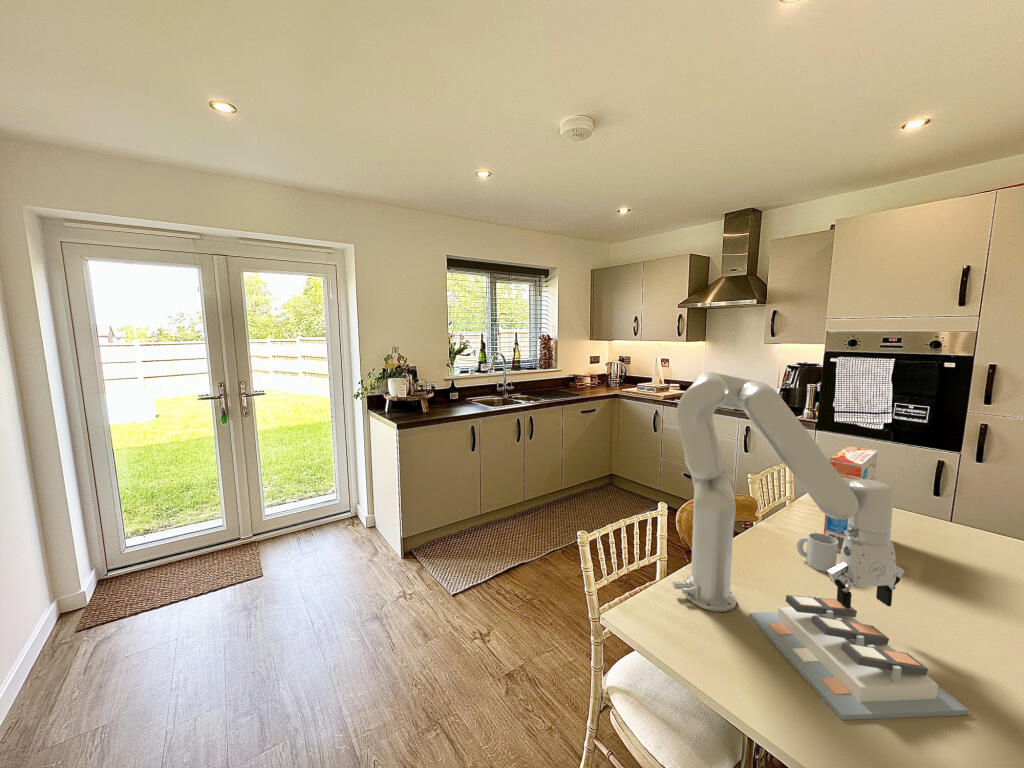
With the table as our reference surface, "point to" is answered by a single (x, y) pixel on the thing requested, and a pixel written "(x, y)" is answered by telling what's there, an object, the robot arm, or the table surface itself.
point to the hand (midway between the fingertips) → (863, 603)
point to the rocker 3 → (883, 658)
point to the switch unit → (852, 671)
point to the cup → (819, 551)
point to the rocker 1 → (819, 606)
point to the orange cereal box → (850, 466)
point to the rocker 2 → (849, 630)
